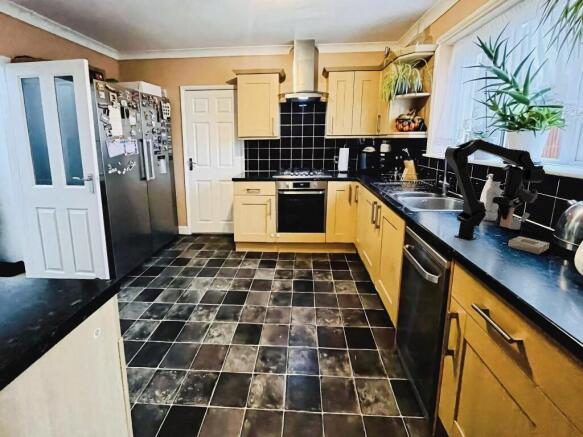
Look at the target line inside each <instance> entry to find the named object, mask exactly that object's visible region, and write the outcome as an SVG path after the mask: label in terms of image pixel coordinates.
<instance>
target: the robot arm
mask: <svg viewBox="0 0 583 437" xmlns="http://www.w3.org/2000/svg"><path fill="white" fill-rule="evenodd" d="M477 151H480V152H483V153H486V154H489V155H492V156H495V157H497V158H499V159H501V160H503V161H504V162H506V163H507V164H506V165H505V166H503V167H502V168H501V170H502V171H507V172H506V175H505V176H506V177H505V182H504V183H502V187H504V188H503V192H502V194H501V196H495V197H494V198H493V199H492V203H496V204H498V208H499V211H500V213H501V216H502V217H503V219H504V220H506V219H507V217H508V214H509V212H510V209H511V208H514V211H515V210H516V208H517V207H519V206H520V205H522V204H523V202H525V203H527V204H531V203H534V202H535V201H536V199H538V196H539V194H538V190H537V189H531V190H529V189H525V185H524V184H523V182H524V183H542V182H543V181H544V180H545V179H546V177H547V176H546V175H547V174H546V170H545V169H544V165H541V164H539V165H537V164H536V165H535V164H534V163H535V162H533V160H532V158H531V153H530V152H529V151H528V150H521V149H515V148H507V147H504V146H501V145H498V144H495V143H492V142H489V141H486V140H484V139H481V138H472V139H470V140H468V141H466V142H463V143H461V144H458V145H456V146H450V147H448V148H447V149H446V151H445V152H444V157H445V160H446V161H447V164H448V165H449V167H451V168H452V170H453V172H454V175H455V178H456V181H457V185H458V187H459V191H460V193H461V196H462V200H463V203H462V211H461V212H460V213H459V214H457V215H456V221H458V222H459V228H458V232H457V234H455V235H454V237H456V238H460V239H463V240H466V241H473V240H475V239H478V238H477V237H478V236H476V235H475V229H476V227H479V226H480V225H481V224H482V221H483V220H484V217H485V216H486V212H485V211H487V210H486V209H485V205H486V203H485V201H481V200H478V199H477V196H476V193H475V189H474V186H473V183H472V180H471V177H470V173H469V169H468V162H469V156H472V155H473V154H474V153H476V152H477ZM513 165H514V166H513ZM520 201H522V202H520Z"/></svg>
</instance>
